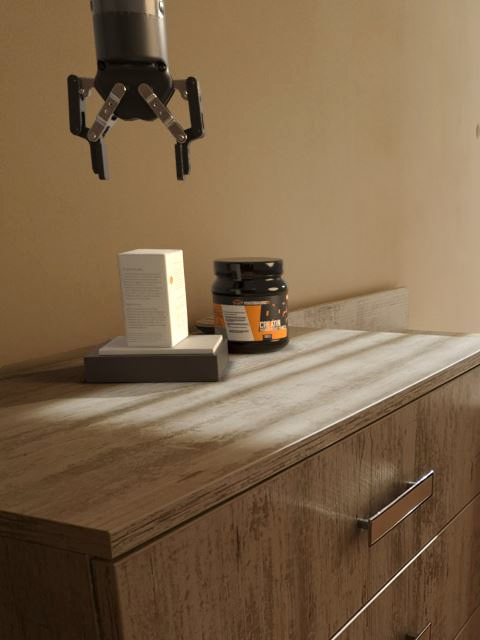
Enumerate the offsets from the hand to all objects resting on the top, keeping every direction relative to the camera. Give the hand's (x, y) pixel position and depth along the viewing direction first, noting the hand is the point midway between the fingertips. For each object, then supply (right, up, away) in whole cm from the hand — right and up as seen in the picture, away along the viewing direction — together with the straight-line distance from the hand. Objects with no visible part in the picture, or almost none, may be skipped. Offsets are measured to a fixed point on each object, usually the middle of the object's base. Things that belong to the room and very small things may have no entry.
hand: (142, 180), depth 92 cm
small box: (0, -17, +7) cm, 18 cm away
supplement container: (+9, -15, +23) cm, 29 cm away
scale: (0, -20, +8) cm, 22 cm away
